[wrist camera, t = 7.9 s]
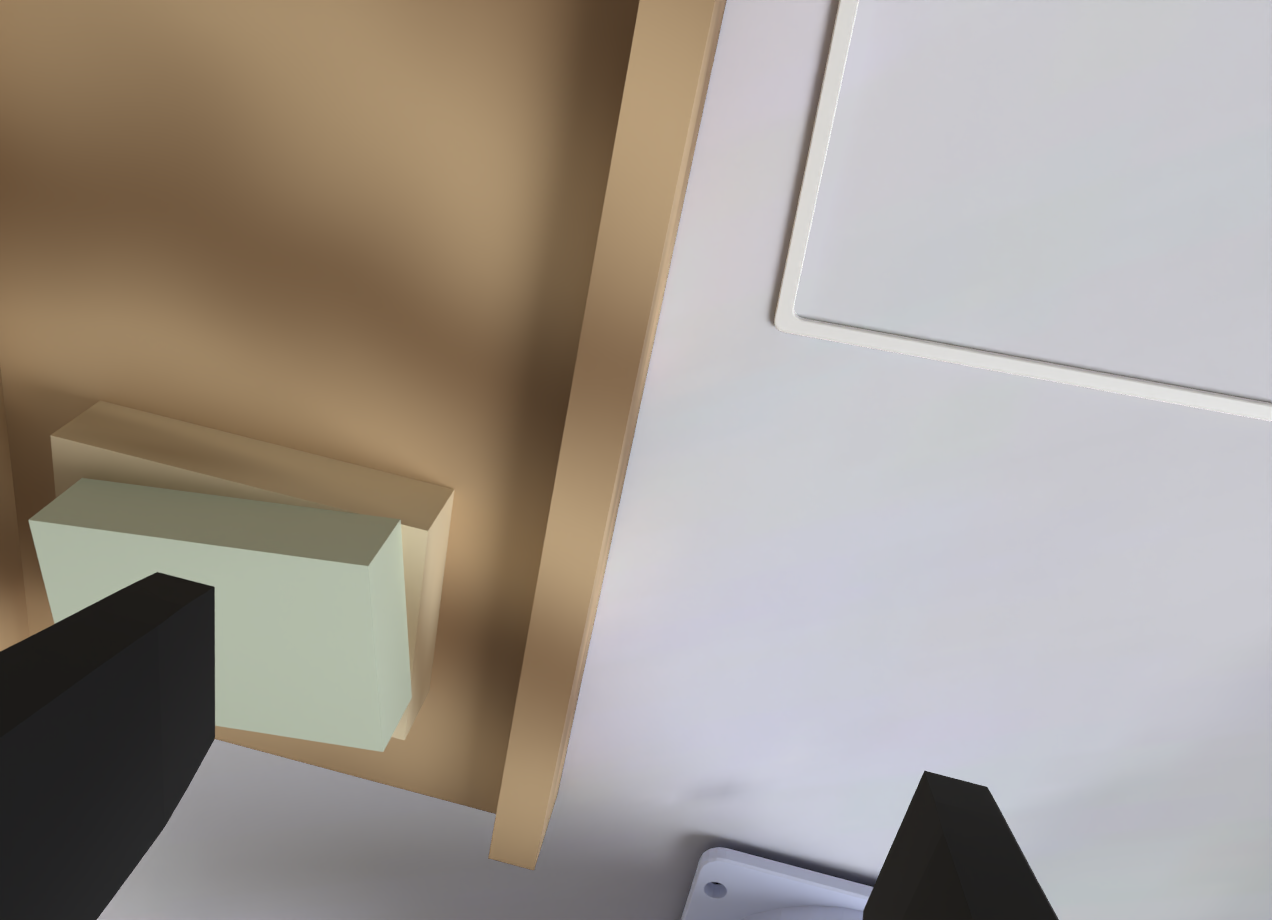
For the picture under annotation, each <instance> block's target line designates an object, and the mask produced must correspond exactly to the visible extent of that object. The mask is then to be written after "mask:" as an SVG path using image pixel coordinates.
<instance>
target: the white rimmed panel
mask: <svg viewBox="0 0 1272 920" xmlns="http://www.w3.org/2000/svg"><path fill="white" fill-rule="evenodd" d="M858 4H859V0H839V4H838V9H837V14H836V19H835V23H834V28H833V33H832V38H831V43H830V48H829V53H828V58H827V63H826V67H825V72H824V77H823V82H822V87H821V92H820V97H819V102H818V106H817V111H816V116H815V121H814V126H813V131H812V136H811V141H810V146H809V150H808V155H807V160H806V165H805V170H804V175H803V180H802V185H801V190H800V194H799V199H798V204H797V209H796V214H795V219H794V224H793V229H792V234H791V238H790V243H789V248H788V253H787V258H786V263H785V268H784V273H783V278H782V282H781V287H780V292H779V297H778V302H777V307H776V312H775V317H774V325H775V327H776V328H777V329H778V330H779V331H781V332H784V333H790V334H795V335H801V336H806V337H812V338H817V339H823V340H828V341H833V342H839V343H844V344H850V345H855V346H861V347H866V348H872V349H877V350H883V351H888V352H894V353H899V354H905V355H910V356H915V357H921V358H926V359H932V360H937V361H943V362H948V363H954V364H959V365H965V366H970V367H976V368H981V369H986V370H992V371H997V372H1003V373H1008V374H1014V375H1019V376H1025V377H1030V378H1036V379H1041V380H1047V381H1052V382H1058V383H1063V384H1068V385H1074V386H1079V387H1085V388H1090V389H1096V390H1101V391H1107V392H1112V393H1118V394H1123V395H1129V396H1134V397H1140V398H1145V399H1150V400H1156V401H1161V402H1167V403H1172V404H1178V405H1183V406H1189V407H1194V408H1200V409H1205V410H1211V411H1216V412H1221V413H1227V414H1232V415H1238V416H1243V417H1249V418H1254V419H1260V420H1265V421H1271V422H1272V403H1269V402H1263V401H1258V400H1252V399H1247V398H1241V397H1236V396H1230V395H1225V394H1219V393H1214V392H1208V391H1203V390H1197V389H1192V388H1186V387H1181V386H1175V385H1170V384H1164V383H1159V382H1153V381H1147V380H1142V379H1136V378H1131V377H1125V376H1120V375H1114V374H1109V373H1103V372H1098V371H1092V370H1087V369H1081V368H1076V367H1070V366H1065V365H1059V364H1054V363H1048V362H1043V361H1037V360H1032V359H1026V358H1021V357H1015V356H1010V355H1004V354H999V353H993V352H988V351H982V350H977V349H971V348H966V347H960V346H955V345H949V344H944V343H938V342H933V341H927V340H922V339H916V338H910V337H905V336H899V335H894V334H888V333H883V332H877V331H872V330H866V329H861V328H855V327H850V326H844V325H839V324H833V323H828V322H822V321H817V320H811V319H806V318H802V317H799V316H798V315H797V314H796V313H795V311H794V304H795V300H796V295H797V290H798V286H799V281H800V276H801V271H802V267H803V262H804V257H805V253H806V248H807V243H808V239H809V234H810V229H811V224H812V220H813V215H814V210H815V206H816V201H817V196H818V192H819V187H820V182H821V178H822V173H823V168H824V163H825V159H826V154H827V149H828V145H829V140H830V135H831V131H832V126H833V121H834V116H835V112H836V107H837V102H838V98H839V93H840V88H841V84H842V79H843V74H844V69H845V65H846V60H847V55H848V51H849V46H850V41H851V37H852V32H853V27H854V23H855V18H856V13H857V8H858Z"/></svg>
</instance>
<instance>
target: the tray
mask: <svg viewBox="0 0 1272 920" xmlns="http://www.w3.org/2000/svg"><path fill="white" fill-rule="evenodd" d="M725 5H726V0H0V651H2V650H4V649H6V648H8V647H10V646H12V645H14V644H16V643H18V642H20V641H22V640H24V639H26V638H28V637H30V636H32V635H34V634H36V633H38V632H40V631H42V630H44V629H46V628H48V627H50V626H52V625H53V624H54V620H53V616H52V612H51V608H50V604H49V600H48V596H47V592H46V588H45V584H44V580H43V576H42V572H41V568H40V564H39V560H38V557H37V553H36V549H35V545H34V541H33V537H32V533H31V529H30V525H29V521H28V520H29V519H30V518H31V517H33V516H34V515H35V514H37V513H38V512H39V511H40V510H42V509H43V508H44V507H45V506H47V505H48V504H49V503H51V502H52V501H53V500H54V499H56V494H55V482H54V471H53V459H52V448H51V436H50V435H52V434H53V433H54V432H56V431H57V430H59V429H60V428H62V427H63V426H64V425H66V424H67V423H69V422H70V421H72V420H73V419H75V418H76V417H77V416H79V415H80V414H82V413H83V412H85V411H86V410H87V409H89V408H90V407H92V406H93V405H95V404H96V403H97V402H99V401H104V402H108V403H112V404H116V405H120V406H124V407H128V408H132V409H136V410H140V411H144V412H148V413H152V414H156V415H160V416H164V417H168V418H172V419H176V420H180V421H184V422H188V423H192V424H196V425H200V426H204V427H208V428H212V429H216V430H220V431H224V432H228V433H231V434H235V435H239V436H243V437H247V438H251V439H255V440H259V441H263V442H267V443H271V444H275V445H279V446H283V447H287V448H291V449H295V450H299V451H303V452H307V453H311V454H315V455H319V456H323V457H327V458H331V459H335V460H339V461H343V462H347V463H351V464H355V465H359V466H363V467H367V468H371V469H375V470H379V471H383V472H387V473H391V474H395V475H399V476H403V477H407V478H411V479H415V480H419V481H423V482H427V483H431V484H435V485H438V486H442V487H446V488H450V489H454V497H453V505H452V513H451V521H450V529H449V538H448V546H447V554H446V562H445V570H444V578H443V586H442V594H441V602H440V610H439V618H438V626H437V634H436V642H435V650H434V658H433V666H432V675H431V683H430V691H429V693H428V695H427V697H426V699H425V701H424V703H423V705H422V707H421V709H420V711H419V713H418V715H417V717H416V719H415V721H414V723H413V725H412V727H411V729H410V731H409V732H408V734H407V736H406V738H405V740H401V739H397V738H394V737H391V738H390V740H389V742H388V744H387V746H386V748H385V750H384V752H380V751H373V750H367V749H361V748H354V747H348V746H342V745H335V744H329V743H323V742H316V741H310V740H304V739H297V738H291V737H284V736H278V735H272V734H265V733H259V732H253V731H246V730H240V729H234V728H227V727H221V726H215V739H217V740H221V741H225V742H229V743H232V744H236V745H240V746H244V747H247V748H251V749H255V750H259V751H262V752H266V753H270V754H274V755H277V756H281V757H285V758H288V759H292V760H296V761H300V762H303V763H307V764H311V765H315V766H318V767H322V768H326V769H330V770H333V771H337V772H341V773H345V774H348V775H352V776H356V777H360V778H363V779H367V780H371V781H375V782H378V783H382V784H386V785H390V786H393V787H397V788H401V789H405V790H408V791H412V792H416V793H420V794H423V795H427V796H431V797H435V798H438V799H442V800H446V801H450V802H453V803H457V804H461V805H465V806H468V807H472V808H476V809H480V810H483V811H487V812H491V813H494V814H496V818H495V823H494V829H493V835H492V840H491V846H490V852H489V857H488V858H489V859H493V860H497V861H501V862H504V863H508V864H512V865H515V866H519V867H523V868H527V869H530V870H534V869H535V865H536V862H537V859H538V856H539V852H540V849H541V846H542V843H543V840H544V836H545V833H546V830H547V827H548V823H549V820H550V817H551V814H552V810H553V807H554V804H555V801H556V797H557V794H558V789H559V784H560V780H561V775H562V770H563V766H564V761H565V756H566V752H567V747H568V742H569V737H570V733H571V728H572V723H573V719H574V714H575V709H576V705H577V700H578V695H579V690H580V686H581V681H582V676H583V672H584V667H585V662H586V658H587V653H588V648H589V643H590V639H591V634H592V629H593V625H594V620H595V615H596V611H597V606H598V601H599V597H600V592H601V587H602V582H603V578H604V573H605V568H606V564H607V559H608V554H609V550H610V545H611V540H612V535H613V531H614V526H615V521H616V517H617V512H618V507H619V503H620V498H621V493H622V488H623V484H624V479H625V474H626V470H627V465H628V460H629V456H630V451H631V446H632V441H633V437H634V432H635V427H636V423H637V418H638V413H639V409H640V404H641V399H642V395H643V390H644V385H645V380H646V376H647V371H648V366H649V362H650V357H651V352H652V348H653V343H654V338H655V333H656V329H657V324H658V319H659V315H660V310H661V305H662V301H663V296H664V291H665V286H666V282H667V277H668V272H669V268H670V263H671V258H672V254H673V249H674V244H675V239H676V235H677V230H678V225H679V221H680V216H681V211H682V207H683V202H684V197H685V192H686V188H687V183H688V178H689V174H690V169H691V164H692V160H693V155H694V150H695V146H696V141H697V136H698V131H699V127H700V122H701V117H702V113H703V108H704V103H705V99H706V94H707V89H708V84H709V80H710V75H711V70H712V66H713V61H714V56H715V52H716V47H717V42H718V37H719V33H720V28H721V23H722V19H723V14H724V9H725Z"/></svg>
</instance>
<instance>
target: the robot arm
mask: <svg viewBox="0 0 1272 920" xmlns="http://www.w3.org/2000/svg"><path fill="white" fill-rule="evenodd" d="M214 739H215V587H214V586H210V585H206V584H202V583H198V582H194V581H190V580H187V579H183V578H179V577H175V576H171V575H167V574H164V573H160V572H156V573H154V574H152V575H150V576H148V577H145V578H143V579H141V580H139V581H137V582H135V583H133V584H131V585H129V586H127V587H125V588H123V589H121V590H119V591H117V592H115V593H113V594H111V595H109V596H107V597H105V598H104V599H102V600H100V601H98V602H96V603H94V604H92V605H90V606H88V607H86V608H84V609H82V610H80V611H78V612H77V613H75V614H73V615H71V616H69V617H67V618H65V619H63V620H61V621H59V622H57V623H55V624H53V625H52V626H50V627H48V628H46V629H44V630H42V631H40V632H38V633H36V634H34V635H32V636H30V637H28V638H26V639H24V640H22V641H20V642H18V643H16V644H14V645H12V646H10V647H8V648H6V649H4V650H2V651H0V920H97V918H98V917H99V916H100V914H101V913H102V912H103V910H104V909H105V908H106V906H107V905H108V904H109V902H110V901H111V900H112V898H113V897H114V896H115V894H116V893H117V891H118V890H119V889H120V887H121V886H122V885H123V883H124V882H125V881H126V879H127V878H128V876H129V875H130V874H131V872H132V871H133V870H134V868H135V867H136V866H137V864H138V863H139V862H140V860H141V859H142V857H143V856H144V855H145V853H146V852H147V851H148V849H149V848H150V846H151V845H152V844H153V842H154V841H155V840H156V838H157V837H158V835H159V834H160V833H161V831H162V830H163V828H164V827H165V825H166V824H167V822H168V820H169V819H170V817H171V815H172V813H173V812H174V810H175V808H176V807H177V805H178V803H179V801H180V800H181V798H182V796H183V795H184V793H185V791H186V790H187V788H188V786H189V784H190V782H191V781H192V779H193V777H194V775H195V773H196V772H197V770H198V768H199V766H200V764H201V762H202V761H203V759H204V757H205V755H206V753H207V752H208V750H209V748H210V746H211V744H212V742H213V741H214ZM711 882H718V883H720V884H721V885H720V884H713V883H711ZM681 920H1059V919H1058V918H1057V916H1056V914H1055V912H1054V910H1053V908H1052V906H1051V905H1050V903H1049V901H1048V899H1047V897H1046V895H1045V894H1044V892H1043V890H1042V888H1041V886H1040V884H1039V883H1038V881H1037V879H1036V877H1035V875H1034V873H1033V871H1032V869H1031V868H1030V866H1029V864H1028V862H1027V860H1026V858H1025V856H1024V854H1023V852H1022V851H1021V849H1020V847H1019V845H1018V843H1017V841H1016V839H1015V837H1014V835H1013V834H1012V832H1011V830H1010V828H1009V826H1008V824H1007V822H1006V820H1005V818H1004V817H1003V815H1002V813H1001V811H1000V809H999V807H998V805H997V804H996V802H995V800H994V798H993V796H992V795H991V793H990V791H989V789H988V788H987V787H985V786H981V785H977V784H973V783H970V782H966V781H962V780H958V779H954V778H950V777H946V776H943V775H939V774H935V773H931V772H927V771H924V773H923V775H922V778H921V780H920V782H919V785H918V787H917V789H916V791H915V794H914V796H913V798H912V801H911V803H910V805H909V807H908V810H907V812H906V814H905V817H904V819H903V821H902V823H901V826H900V828H899V830H898V833H897V835H896V837H895V839H894V842H893V844H892V846H891V849H890V851H889V853H888V855H887V858H886V860H885V862H884V865H883V867H882V869H881V871H880V874H879V876H878V878H877V880H876V883H875V885H874V887H871V886H867V885H864V884H860V883H856V882H852V881H849V880H845V879H841V878H837V877H834V876H830V875H826V874H822V873H818V872H815V871H811V870H807V869H803V868H800V867H796V866H792V865H788V864H785V863H781V862H777V861H773V860H770V859H766V858H762V857H758V856H754V855H751V854H747V853H743V852H739V851H736V850H732V849H728V848H722V847H716V848H711V849H708V850H707V851H705V852H704V853H703V854H702V856H701V857H700V860H699V863H698V866H697V870H696V873H695V876H694V879H693V882H692V885H691V889H690V892H689V895H688V898H687V901H686V904H685V908H684V911H683V914H682V917H681Z"/></svg>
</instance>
